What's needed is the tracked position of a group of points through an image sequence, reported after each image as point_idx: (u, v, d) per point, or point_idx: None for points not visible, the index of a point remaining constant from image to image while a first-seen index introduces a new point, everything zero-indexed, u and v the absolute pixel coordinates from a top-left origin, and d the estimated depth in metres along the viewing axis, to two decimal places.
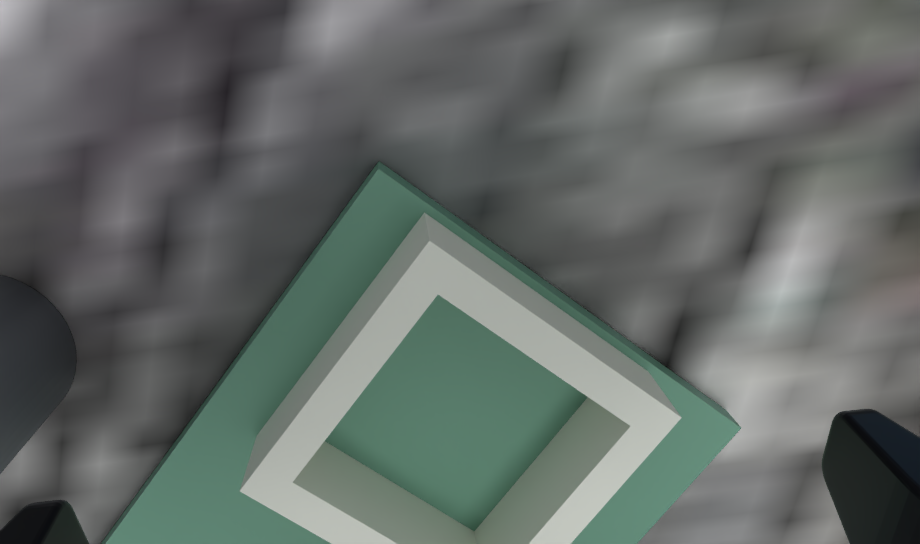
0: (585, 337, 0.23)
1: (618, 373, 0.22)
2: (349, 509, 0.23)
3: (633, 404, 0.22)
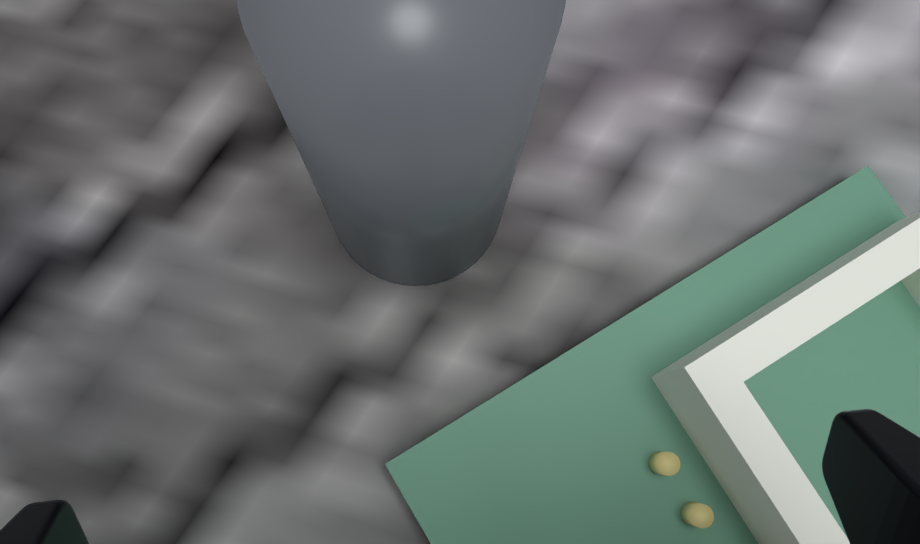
0: None
1: None
2: None
3: None
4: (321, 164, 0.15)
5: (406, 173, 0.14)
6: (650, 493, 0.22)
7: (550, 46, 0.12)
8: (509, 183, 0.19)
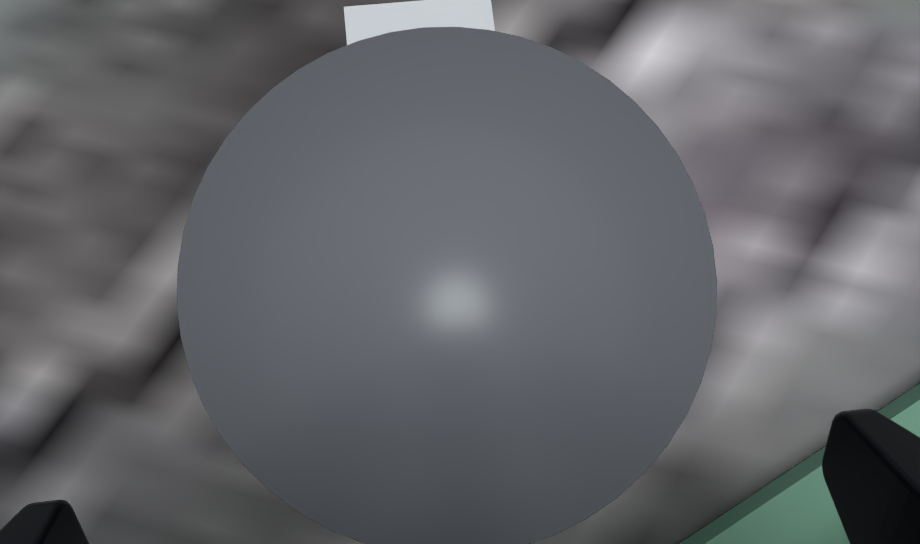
0: None
1: None
2: None
3: None
4: None
5: None
6: None
7: (695, 393, 0.07)
8: None
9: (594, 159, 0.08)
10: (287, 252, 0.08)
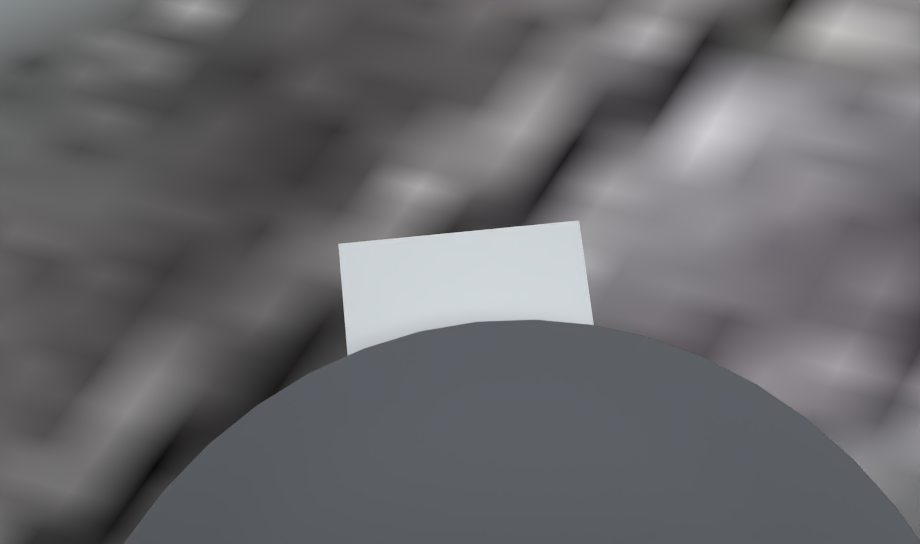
0: None
1: None
2: None
3: None
4: None
5: None
6: None
7: None
8: None
9: None
10: None
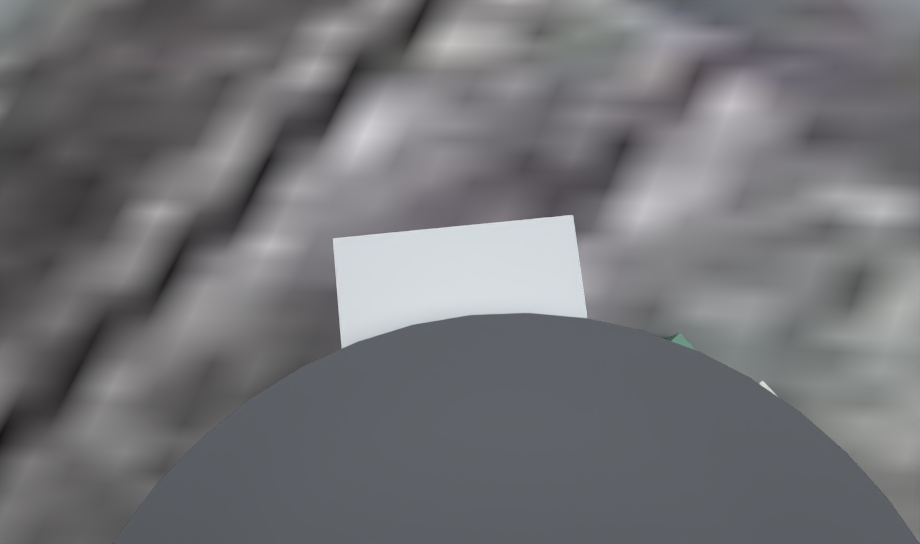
0: None
1: None
2: None
3: None
4: None
5: None
6: None
7: None
8: None
9: None
10: None
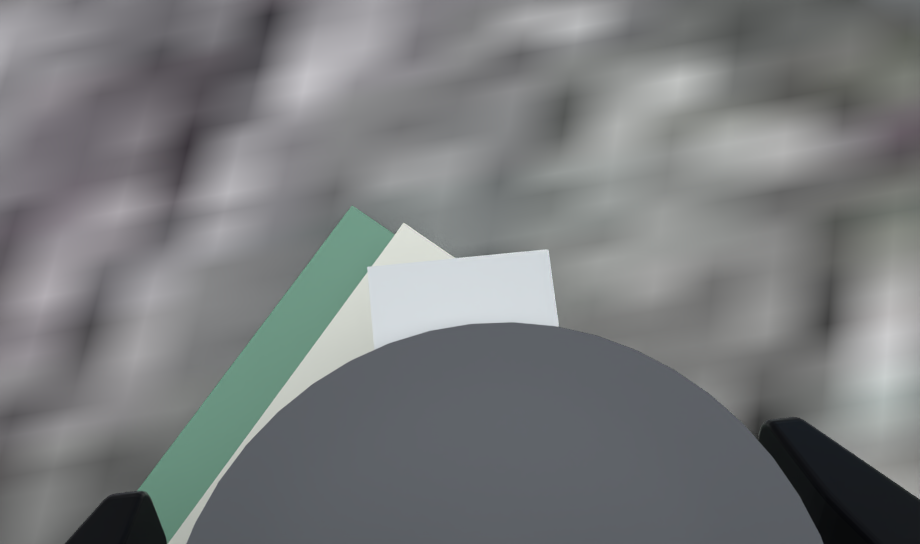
0: None
1: None
2: None
3: None
4: None
5: None
6: None
7: None
8: None
9: (693, 504, 0.06)
10: None
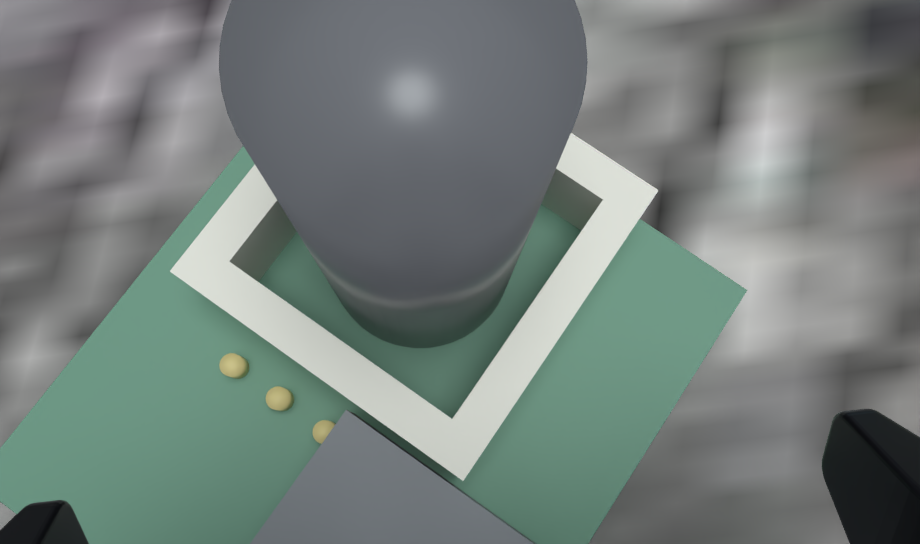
0: None
1: (581, 140, 0.21)
2: None
3: (602, 174, 0.20)
4: (315, 246, 0.14)
5: (407, 262, 0.12)
6: (237, 398, 0.22)
7: (569, 131, 0.11)
8: (520, 252, 0.17)
9: None
10: (294, 39, 0.11)
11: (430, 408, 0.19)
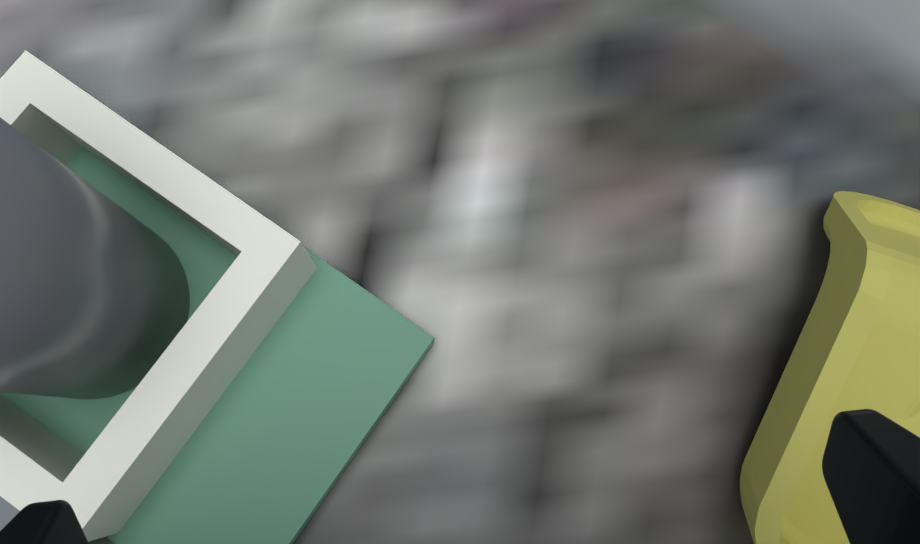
0: None
1: (225, 189, 0.20)
2: None
3: (243, 225, 0.20)
4: None
5: None
6: None
7: None
8: (99, 324, 0.17)
9: None
10: None
11: (40, 472, 0.19)
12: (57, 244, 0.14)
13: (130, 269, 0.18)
